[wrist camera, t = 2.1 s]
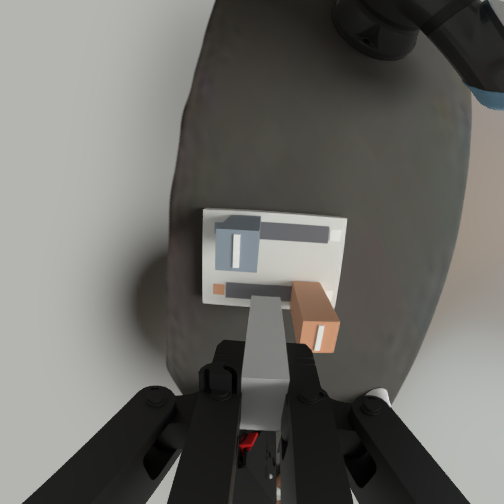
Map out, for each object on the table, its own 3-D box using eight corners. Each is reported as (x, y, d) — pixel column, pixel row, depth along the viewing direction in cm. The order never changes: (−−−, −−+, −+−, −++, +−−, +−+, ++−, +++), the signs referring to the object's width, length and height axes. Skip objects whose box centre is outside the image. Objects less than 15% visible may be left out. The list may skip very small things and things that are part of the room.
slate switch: (261, 216, 37) (259, 231, 25) (259, 245, 38) (256, 273, 26) (231, 214, 37) (215, 228, 25) (230, 243, 38) (214, 270, 26)
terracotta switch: (319, 282, 38) (340, 322, 27) (316, 307, 39) (333, 353, 28) (292, 281, 39) (303, 321, 27) (289, 306, 40) (298, 353, 28)
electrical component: (205, 386, 48) (181, 468, 28) (255, 377, 46) (250, 466, 27) (235, 436, 51) (226, 508, 32) (278, 430, 50) (280, 505, 31)
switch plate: (342, 216, 39) (347, 218, 36) (330, 303, 42) (334, 310, 40) (206, 207, 39) (203, 209, 37) (205, 296, 43) (202, 303, 40)
